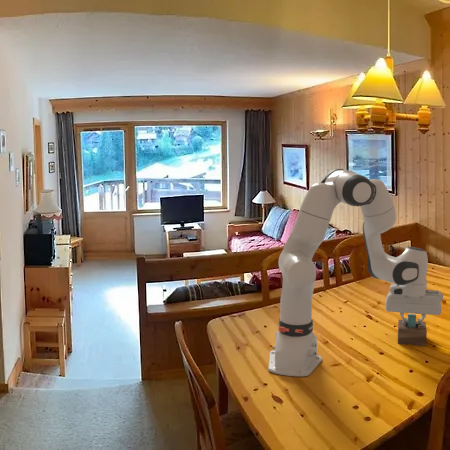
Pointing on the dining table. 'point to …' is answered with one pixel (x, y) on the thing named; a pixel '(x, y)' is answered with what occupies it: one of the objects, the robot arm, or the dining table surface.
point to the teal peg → (411, 320)
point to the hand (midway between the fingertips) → (412, 323)
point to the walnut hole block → (412, 334)
